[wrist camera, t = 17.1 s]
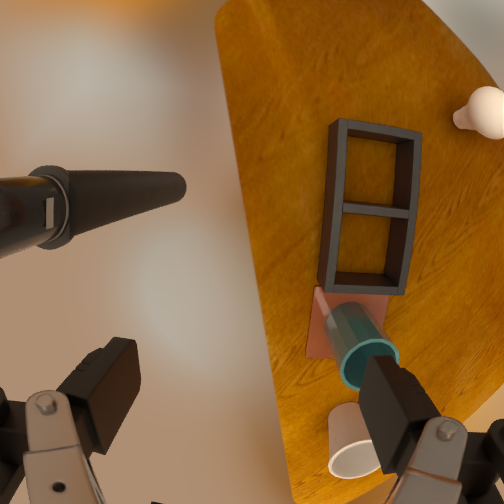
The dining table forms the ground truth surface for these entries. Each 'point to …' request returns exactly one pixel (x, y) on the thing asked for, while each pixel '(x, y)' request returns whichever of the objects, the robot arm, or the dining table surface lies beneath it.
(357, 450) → the dixie cup
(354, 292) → the divided storage box
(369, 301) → the coaster
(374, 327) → the cup
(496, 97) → the lightbulb
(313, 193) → the dining table surface
